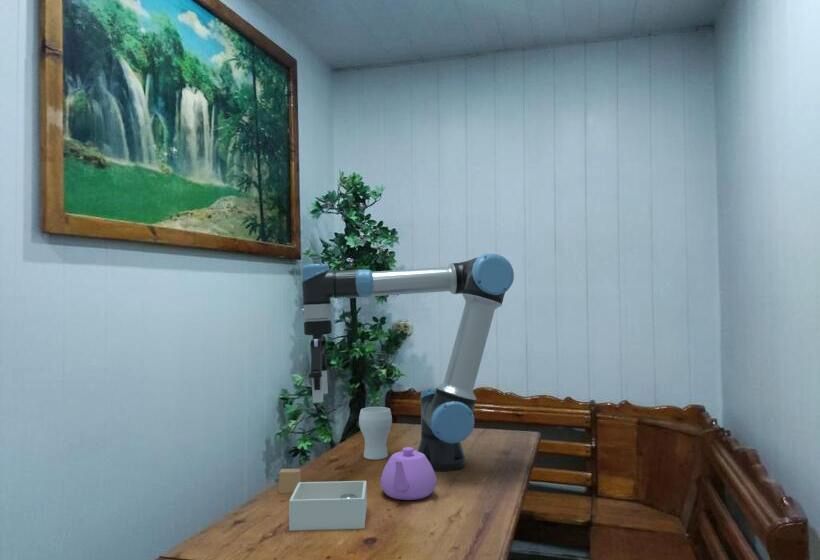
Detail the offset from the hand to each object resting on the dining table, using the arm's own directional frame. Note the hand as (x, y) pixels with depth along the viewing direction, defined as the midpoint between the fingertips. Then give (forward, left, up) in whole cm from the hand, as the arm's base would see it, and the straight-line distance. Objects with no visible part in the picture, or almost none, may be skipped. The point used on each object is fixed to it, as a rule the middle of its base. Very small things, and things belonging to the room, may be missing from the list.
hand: (320, 397), depth 146 cm
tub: (-5, +25, -24) cm, 35 cm away
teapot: (-23, +11, -24) cm, 35 cm away
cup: (-14, -27, -24) cm, 39 cm away
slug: (-9, +23, -23) cm, 34 cm away
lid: (-1, +6, -24) cm, 24 cm away
